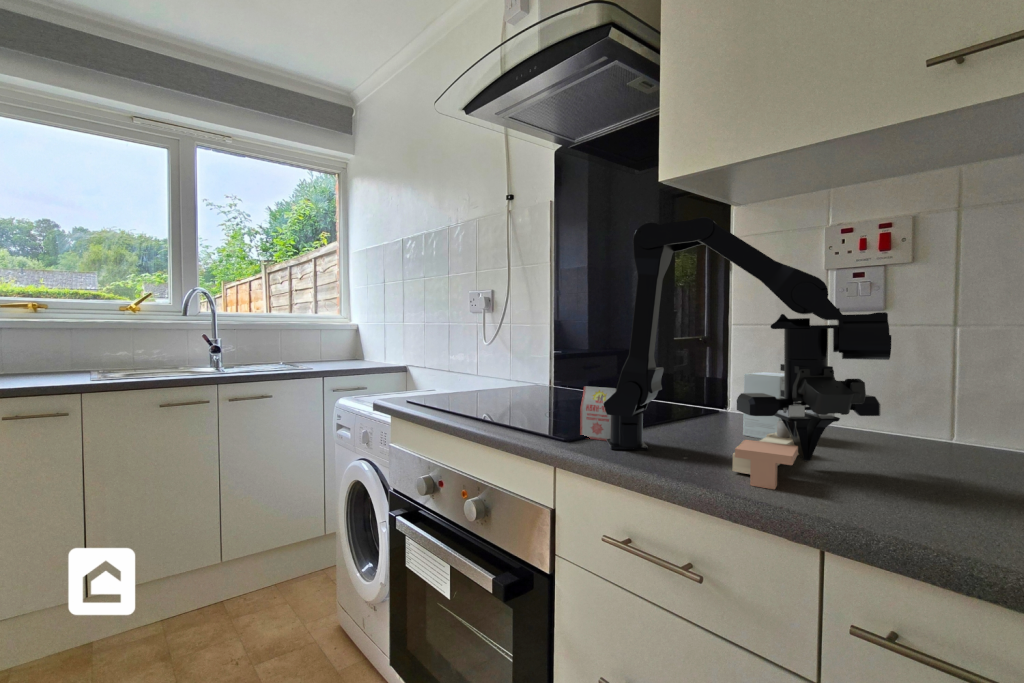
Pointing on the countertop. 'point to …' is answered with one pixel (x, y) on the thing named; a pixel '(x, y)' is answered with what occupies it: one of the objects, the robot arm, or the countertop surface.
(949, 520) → the countertop surface
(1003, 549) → the countertop surface
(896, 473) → the countertop surface
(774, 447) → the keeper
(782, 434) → the link
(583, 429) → the white printed box
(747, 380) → the supplement box
